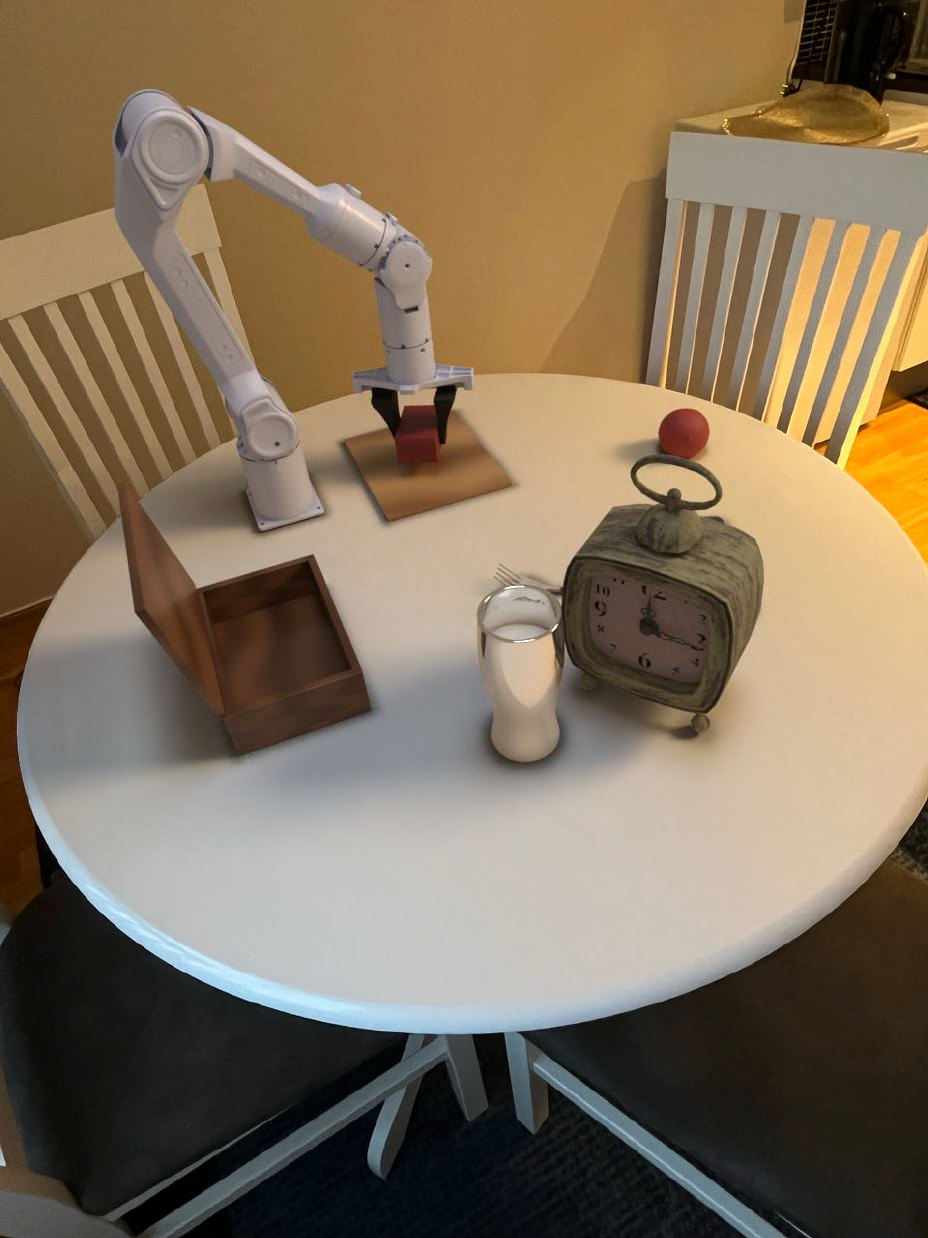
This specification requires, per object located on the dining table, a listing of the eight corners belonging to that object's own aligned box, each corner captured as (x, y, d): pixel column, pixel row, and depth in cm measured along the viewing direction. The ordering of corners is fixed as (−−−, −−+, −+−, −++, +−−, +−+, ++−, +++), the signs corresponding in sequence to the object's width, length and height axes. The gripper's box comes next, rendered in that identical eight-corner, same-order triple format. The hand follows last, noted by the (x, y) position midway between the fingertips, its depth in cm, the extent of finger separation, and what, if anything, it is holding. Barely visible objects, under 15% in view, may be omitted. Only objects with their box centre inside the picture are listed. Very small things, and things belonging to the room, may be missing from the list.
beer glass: (541, 779, 70) (537, 656, 60) (471, 747, 73) (456, 625, 63) (578, 722, 74) (580, 598, 64) (510, 695, 77) (502, 572, 67)
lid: (124, 481, 74) (116, 484, 74) (144, 607, 61) (134, 612, 61) (195, 584, 84) (188, 587, 84) (225, 713, 71) (216, 717, 71)
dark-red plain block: (398, 463, 103) (394, 438, 101) (407, 429, 109) (404, 405, 106) (438, 462, 102) (435, 437, 100) (445, 428, 108) (442, 404, 106)
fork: (646, 613, 84) (647, 598, 83) (494, 591, 88) (493, 577, 87) (649, 596, 86) (651, 581, 84) (500, 576, 90) (499, 561, 89)
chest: (323, 591, 90) (313, 553, 87) (372, 710, 78) (362, 671, 74) (208, 626, 88) (193, 589, 84) (238, 756, 75) (222, 718, 71)
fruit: (656, 470, 105) (662, 439, 98) (656, 429, 107) (662, 396, 99) (706, 470, 105) (716, 439, 97) (705, 429, 106) (715, 395, 99)
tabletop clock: (561, 693, 77) (560, 463, 60) (602, 632, 82) (613, 405, 65) (713, 752, 71) (761, 515, 54) (747, 682, 76) (801, 446, 59)
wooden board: (344, 442, 113) (343, 439, 112) (454, 412, 116) (454, 409, 116) (388, 522, 99) (387, 518, 98) (511, 485, 102) (511, 482, 102)
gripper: (338, 355, 94) (359, 458, 103) (466, 351, 92) (475, 456, 101) (351, 328, 99) (369, 428, 108) (472, 323, 97) (480, 426, 106)
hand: (421, 440), depth 105 cm, fingers closed on dark-red plain block, 5 cm apart
